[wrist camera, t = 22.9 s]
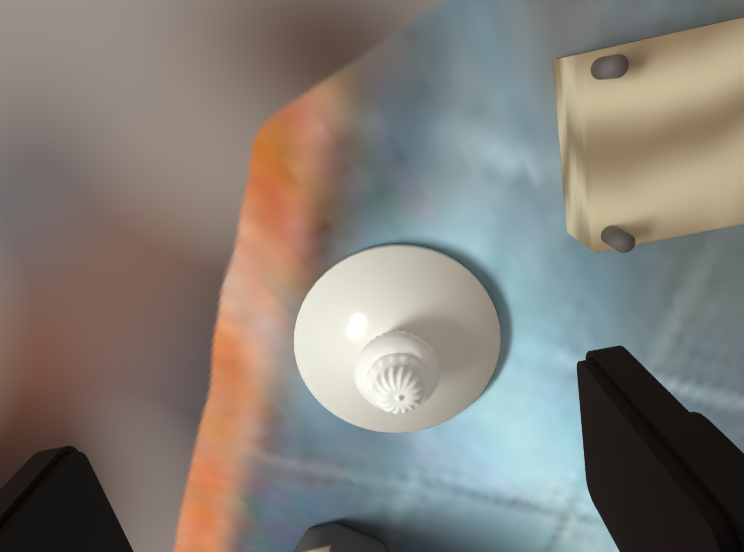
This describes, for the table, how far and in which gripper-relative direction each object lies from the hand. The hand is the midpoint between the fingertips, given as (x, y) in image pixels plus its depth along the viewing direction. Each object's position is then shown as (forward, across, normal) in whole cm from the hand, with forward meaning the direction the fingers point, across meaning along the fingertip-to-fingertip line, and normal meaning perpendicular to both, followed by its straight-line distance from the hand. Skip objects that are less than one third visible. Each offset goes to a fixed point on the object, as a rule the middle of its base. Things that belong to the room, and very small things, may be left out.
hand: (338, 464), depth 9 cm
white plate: (+28, 0, +12) cm, 31 cm away
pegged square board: (+28, -20, 0) cm, 35 cm away
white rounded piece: (+27, 0, +12) cm, 30 cm away
